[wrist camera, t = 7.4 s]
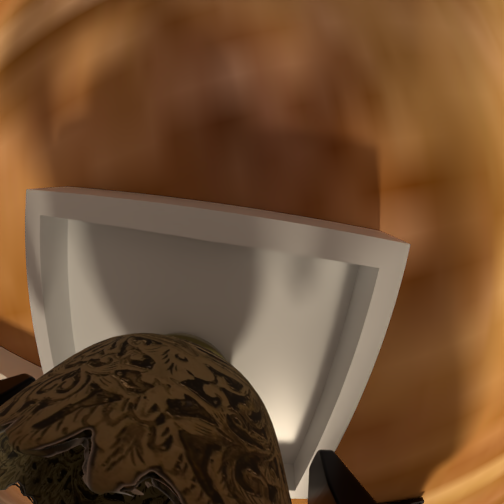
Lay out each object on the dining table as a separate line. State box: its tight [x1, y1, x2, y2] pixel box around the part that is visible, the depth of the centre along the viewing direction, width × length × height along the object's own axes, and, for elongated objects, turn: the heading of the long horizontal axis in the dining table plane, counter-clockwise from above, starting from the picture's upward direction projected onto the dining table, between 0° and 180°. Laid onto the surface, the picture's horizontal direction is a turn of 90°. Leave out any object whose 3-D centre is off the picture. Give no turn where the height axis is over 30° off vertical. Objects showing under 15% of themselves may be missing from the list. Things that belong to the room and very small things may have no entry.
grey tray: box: [25, 186, 410, 499], centre depth 10 cm, size 12×12×2 cm
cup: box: [0, 333, 292, 504], centre depth 7 cm, size 8×7×8 cm
